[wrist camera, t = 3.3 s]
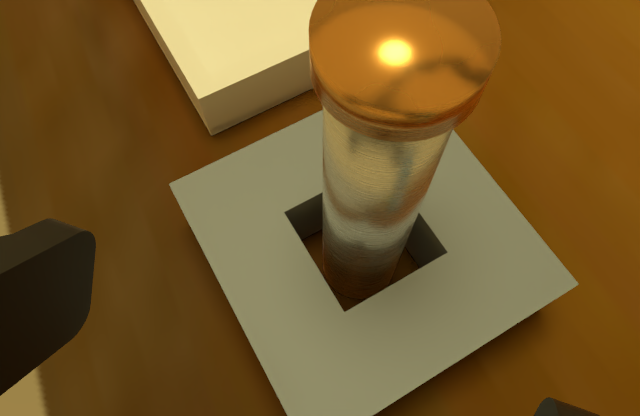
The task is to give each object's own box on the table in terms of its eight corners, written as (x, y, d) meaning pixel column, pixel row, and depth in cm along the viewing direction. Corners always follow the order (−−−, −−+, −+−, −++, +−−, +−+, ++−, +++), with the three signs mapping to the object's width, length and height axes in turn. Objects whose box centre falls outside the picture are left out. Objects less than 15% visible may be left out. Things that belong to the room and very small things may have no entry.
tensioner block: (394, 119, 28) (404, 70, 24) (539, 309, 24) (578, 284, 20) (190, 221, 26) (168, 184, 22) (310, 454, 21) (308, 456, 18)
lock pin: (371, 211, 26) (427, -62, 12) (417, 278, 24) (542, 56, 10) (300, 249, 25) (274, 4, 11) (343, 321, 23) (375, 141, 10)
